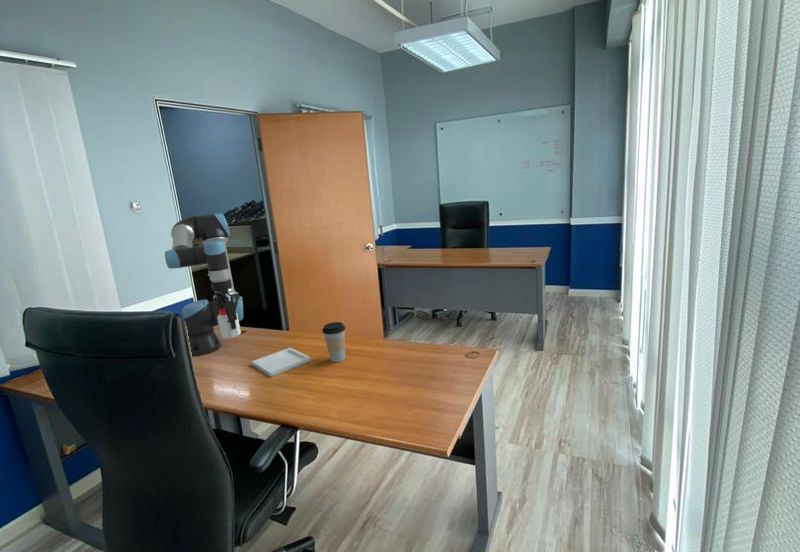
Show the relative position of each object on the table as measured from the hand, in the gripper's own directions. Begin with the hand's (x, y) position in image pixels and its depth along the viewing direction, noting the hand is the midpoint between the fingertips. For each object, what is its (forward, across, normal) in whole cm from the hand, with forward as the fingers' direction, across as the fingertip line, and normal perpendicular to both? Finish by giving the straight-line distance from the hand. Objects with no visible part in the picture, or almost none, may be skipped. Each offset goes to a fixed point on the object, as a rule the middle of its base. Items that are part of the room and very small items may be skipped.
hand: (230, 334), depth 173 cm
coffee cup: (+16, +27, +32) cm, 45 cm away
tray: (+15, +10, +15) cm, 24 cm away
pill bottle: (0, 0, 0) cm, 0 cm away
